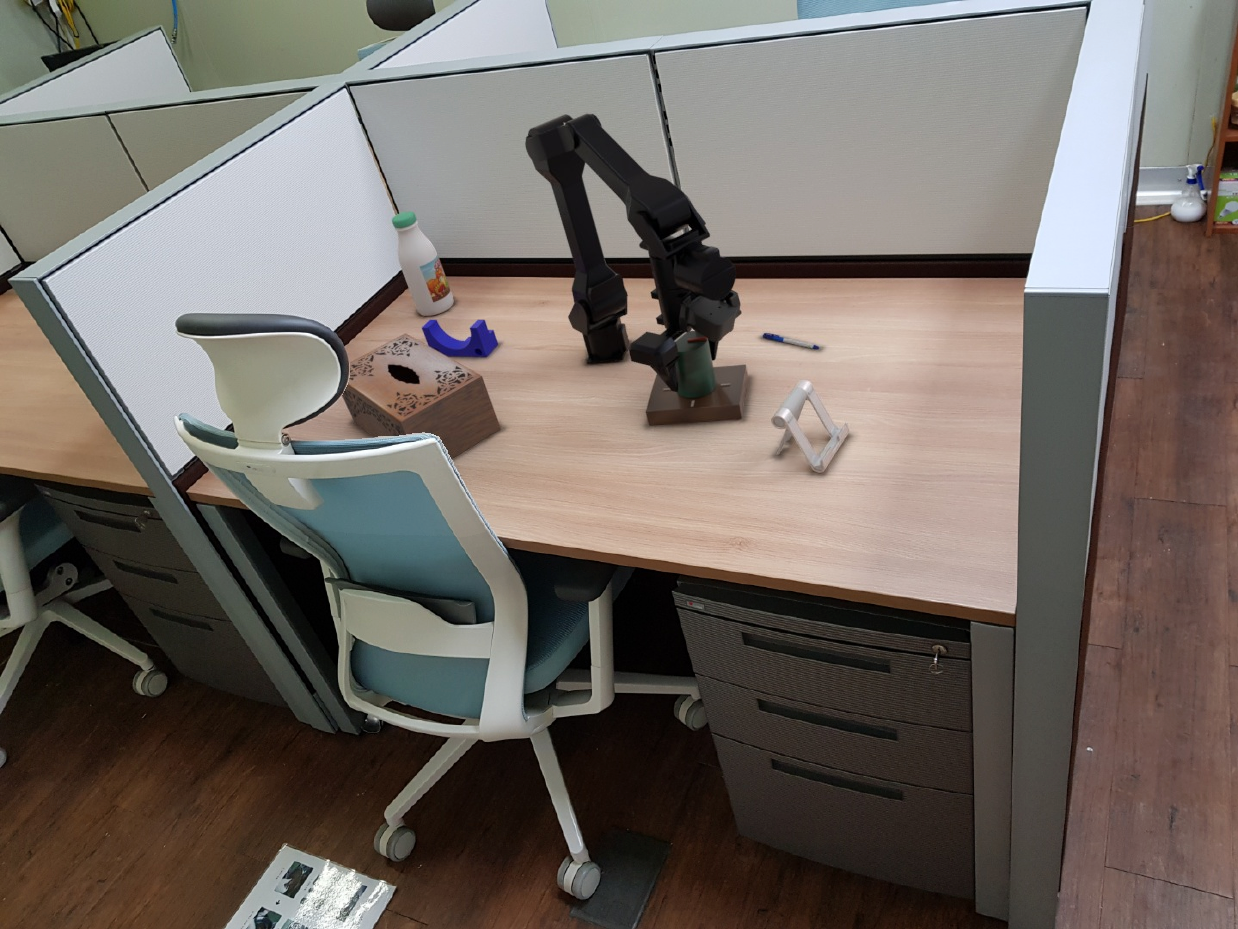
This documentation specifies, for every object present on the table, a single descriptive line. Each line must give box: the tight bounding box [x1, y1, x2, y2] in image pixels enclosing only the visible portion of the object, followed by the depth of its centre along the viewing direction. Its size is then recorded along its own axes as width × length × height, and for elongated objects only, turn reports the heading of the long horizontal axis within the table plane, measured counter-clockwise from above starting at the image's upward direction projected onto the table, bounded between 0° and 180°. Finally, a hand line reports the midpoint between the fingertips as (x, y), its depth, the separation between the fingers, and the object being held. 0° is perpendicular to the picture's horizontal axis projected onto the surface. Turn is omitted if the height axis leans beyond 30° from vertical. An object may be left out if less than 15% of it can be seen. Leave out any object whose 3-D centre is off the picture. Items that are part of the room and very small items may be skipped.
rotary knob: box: [675, 330, 716, 398], centre depth 137 cm, size 6×6×8 cm
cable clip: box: [421, 319, 499, 358], centre depth 170 cm, size 12×4×6 cm, turn 68°
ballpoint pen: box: [762, 332, 820, 350], centre depth 148 cm, size 10×1×1 cm, turn 49°
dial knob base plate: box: [645, 364, 749, 426], centre depth 140 cm, size 14×11×3 cm
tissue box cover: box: [341, 332, 502, 459], centre depth 150 cm, size 26×14×10 cm, turn 39°
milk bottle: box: [391, 210, 455, 317], centre depth 184 cm, size 8×8×20 cm
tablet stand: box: [770, 379, 850, 474], centre depth 123 cm, size 9×8×8 cm
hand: (693, 375), depth 138 cm, fingers open, 9 cm apart
